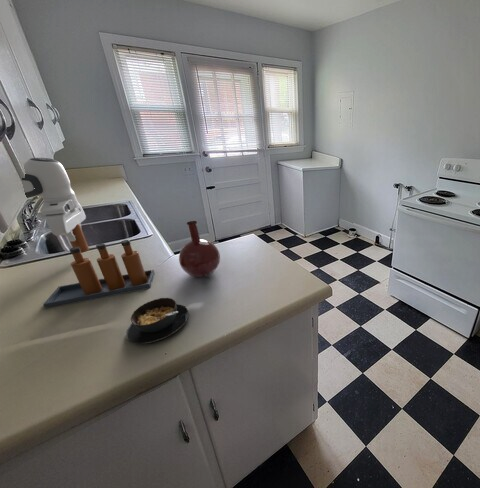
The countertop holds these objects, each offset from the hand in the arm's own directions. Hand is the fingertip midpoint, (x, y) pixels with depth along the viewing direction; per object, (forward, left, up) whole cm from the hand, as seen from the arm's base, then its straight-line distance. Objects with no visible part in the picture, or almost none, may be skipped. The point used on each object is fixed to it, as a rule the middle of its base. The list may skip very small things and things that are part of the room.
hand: (76, 237), depth 105 cm
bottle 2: (+18, -30, -9) cm, 36 cm away
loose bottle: (0, 0, -6) cm, 6 cm away
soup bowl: (+33, -57, -10) cm, 67 cm away
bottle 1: (+11, -30, -9) cm, 33 cm away
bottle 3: (+24, -30, -9) cm, 39 cm away
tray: (+14, -30, -10) cm, 35 cm away
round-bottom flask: (+44, -32, -10) cm, 56 cm away
